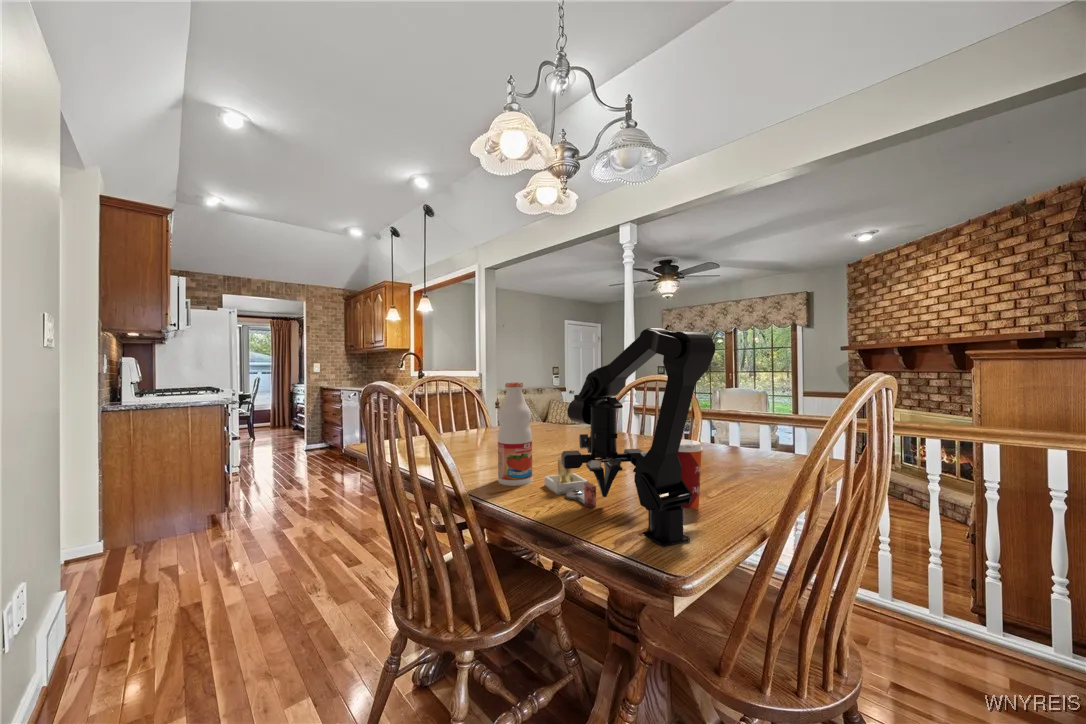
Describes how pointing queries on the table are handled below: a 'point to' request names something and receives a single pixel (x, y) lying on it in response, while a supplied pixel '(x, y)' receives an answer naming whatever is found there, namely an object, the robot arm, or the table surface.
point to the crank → (584, 495)
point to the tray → (561, 488)
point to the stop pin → (564, 473)
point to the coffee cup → (691, 469)
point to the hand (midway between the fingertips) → (604, 496)
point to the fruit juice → (514, 438)
